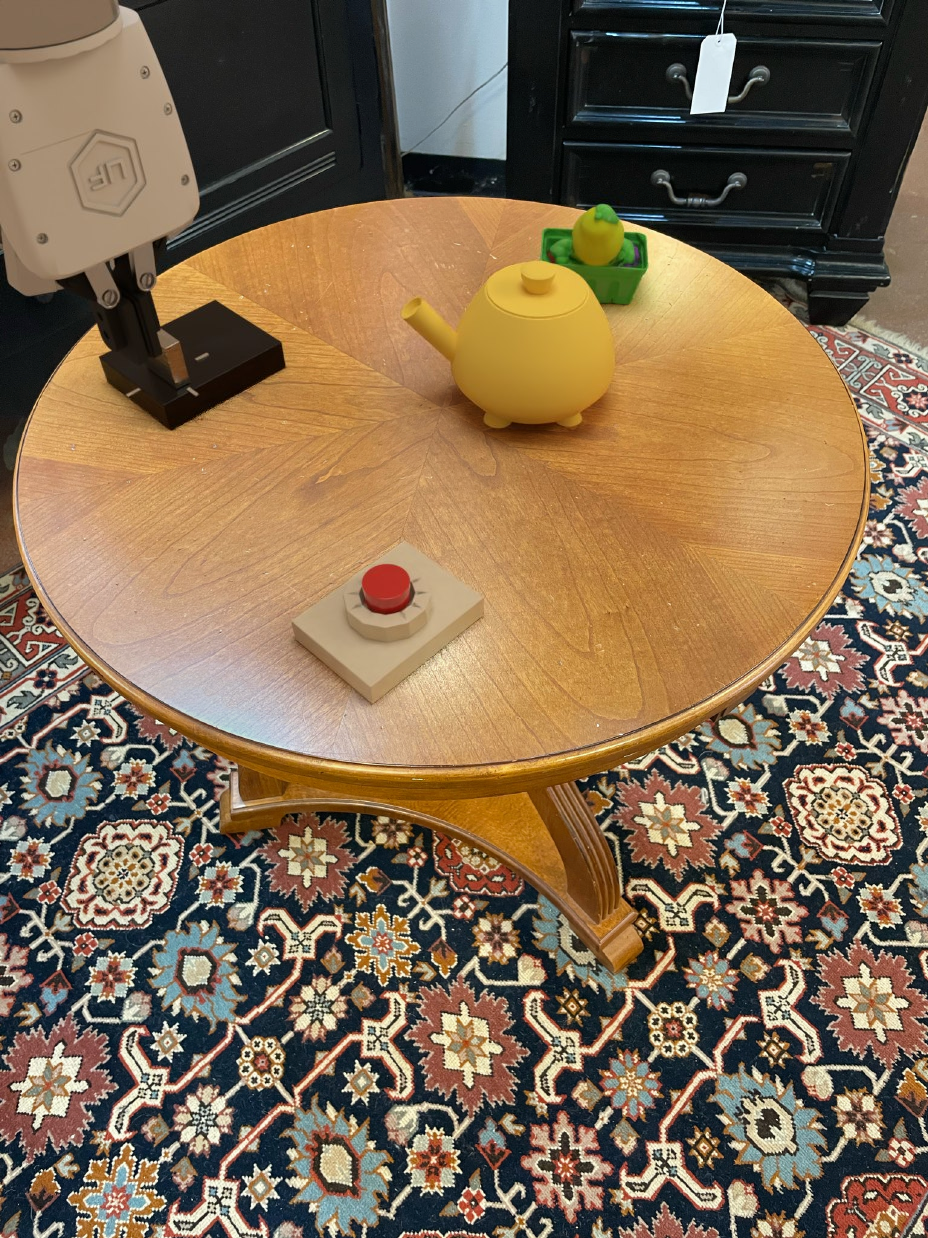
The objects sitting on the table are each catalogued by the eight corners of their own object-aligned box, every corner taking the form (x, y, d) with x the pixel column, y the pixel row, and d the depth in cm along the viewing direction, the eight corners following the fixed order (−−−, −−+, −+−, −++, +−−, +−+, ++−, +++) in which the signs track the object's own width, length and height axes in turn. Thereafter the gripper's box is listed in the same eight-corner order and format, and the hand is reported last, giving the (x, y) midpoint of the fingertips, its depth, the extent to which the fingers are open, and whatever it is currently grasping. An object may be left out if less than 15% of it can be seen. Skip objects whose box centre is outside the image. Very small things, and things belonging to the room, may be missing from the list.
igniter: (372, 704, 70) (368, 672, 67) (294, 638, 74) (287, 605, 71) (484, 615, 76) (484, 581, 73) (405, 557, 80) (403, 523, 77)
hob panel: (163, 443, 89) (155, 416, 87) (93, 388, 95) (83, 361, 92) (293, 371, 96) (288, 344, 94) (220, 324, 102) (214, 297, 99)
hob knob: (190, 382, 90) (179, 338, 87) (176, 389, 90) (164, 346, 86) (160, 360, 93) (148, 316, 89) (146, 367, 92) (133, 323, 88)
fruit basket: (640, 274, 108) (655, 174, 99) (642, 318, 103) (659, 217, 94) (539, 269, 109) (545, 170, 100) (536, 313, 103) (542, 212, 94)
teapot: (405, 450, 89) (396, 320, 78) (406, 352, 99) (399, 224, 88) (619, 446, 89) (640, 316, 78) (599, 348, 99) (615, 221, 88)
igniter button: (386, 622, 71) (384, 607, 69) (353, 597, 72) (351, 581, 71) (420, 596, 72) (420, 580, 71) (388, 571, 74) (387, 556, 73)
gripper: (-98, 67, 37) (57, 438, 51) (216, -27, 44) (276, 324, 58) (-179, 18, 40) (-12, 379, 54) (124, -62, 47) (203, 277, 61)
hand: (136, 350), depth 56 cm, fingers closed
